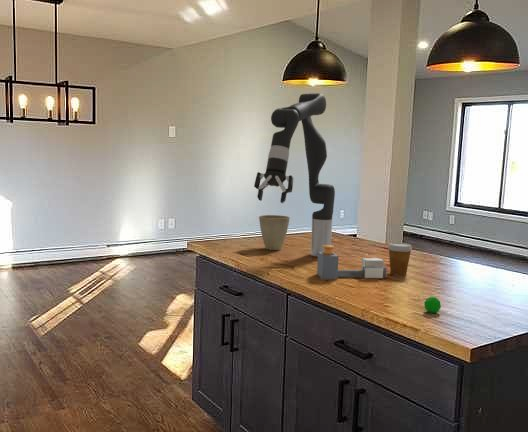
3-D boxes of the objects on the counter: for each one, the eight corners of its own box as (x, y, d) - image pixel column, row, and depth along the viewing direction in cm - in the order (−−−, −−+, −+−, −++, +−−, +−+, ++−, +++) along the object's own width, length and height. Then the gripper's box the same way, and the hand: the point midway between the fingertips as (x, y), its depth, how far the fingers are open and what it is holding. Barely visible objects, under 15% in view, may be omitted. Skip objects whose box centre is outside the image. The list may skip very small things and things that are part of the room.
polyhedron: (423, 309, 178) (424, 294, 178) (440, 311, 177) (441, 296, 176) (423, 313, 174) (424, 298, 173) (440, 315, 172) (441, 300, 172)
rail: (333, 275, 222) (334, 265, 221) (383, 276, 224) (383, 266, 224) (335, 277, 219) (335, 267, 218) (385, 277, 221) (386, 267, 221)
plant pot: (294, 248, 279) (295, 216, 277) (278, 253, 266) (279, 219, 264) (268, 245, 287) (269, 214, 285) (252, 249, 274) (253, 216, 272)
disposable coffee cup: (411, 272, 233) (413, 243, 231) (409, 277, 224) (411, 247, 222) (387, 270, 236) (389, 241, 234) (384, 274, 227) (386, 245, 225)
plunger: (321, 256, 221) (321, 244, 220) (332, 256, 221) (332, 245, 221) (323, 258, 216) (324, 246, 216) (334, 258, 217) (335, 246, 216)
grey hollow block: (317, 273, 224) (317, 251, 223) (331, 274, 225) (332, 251, 224) (322, 279, 215) (323, 255, 214) (337, 279, 216) (338, 256, 215)
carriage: (361, 274, 224) (362, 257, 223) (378, 274, 225) (379, 258, 224) (365, 277, 219) (366, 260, 218) (382, 277, 220) (383, 260, 219)
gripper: (298, 164, 214) (291, 205, 212) (262, 160, 219) (255, 201, 216) (294, 158, 207) (286, 201, 205) (257, 155, 212) (249, 197, 209)
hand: (270, 201), depth 210 cm, fingers open, 8 cm apart
